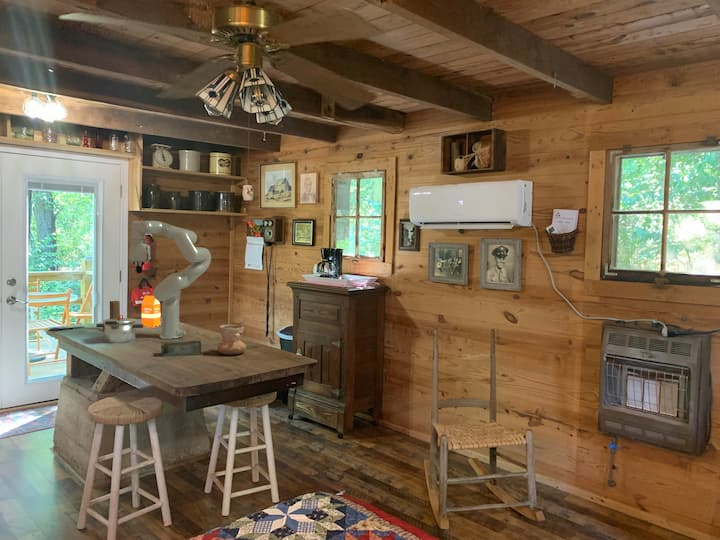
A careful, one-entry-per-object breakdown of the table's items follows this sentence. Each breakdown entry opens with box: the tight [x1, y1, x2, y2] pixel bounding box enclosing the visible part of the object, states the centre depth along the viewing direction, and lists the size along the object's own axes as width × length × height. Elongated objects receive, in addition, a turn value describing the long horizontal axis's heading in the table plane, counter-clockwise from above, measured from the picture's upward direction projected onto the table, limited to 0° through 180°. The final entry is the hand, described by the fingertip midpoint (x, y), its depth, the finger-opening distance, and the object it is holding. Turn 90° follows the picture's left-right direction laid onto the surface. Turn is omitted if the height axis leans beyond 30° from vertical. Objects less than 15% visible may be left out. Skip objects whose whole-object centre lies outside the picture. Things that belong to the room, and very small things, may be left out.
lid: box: [102, 314, 137, 325], centre depth 310 cm, size 17×20×4 cm
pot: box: [95, 322, 145, 344], centre depth 312 cm, size 26×17×10 cm, turn 88°
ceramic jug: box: [216, 324, 247, 356], centre depth 283 cm, size 18×14×14 cm
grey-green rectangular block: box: [160, 340, 202, 357], centre depth 280 cm, size 8×19×7 cm, turn 105°
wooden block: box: [102, 300, 121, 332], centre depth 343 cm, size 9×4×18 cm, turn 139°
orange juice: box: [141, 294, 161, 328], centre depth 359 cm, size 8×9×20 cm
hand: (139, 273), depth 326 cm, fingers closed
